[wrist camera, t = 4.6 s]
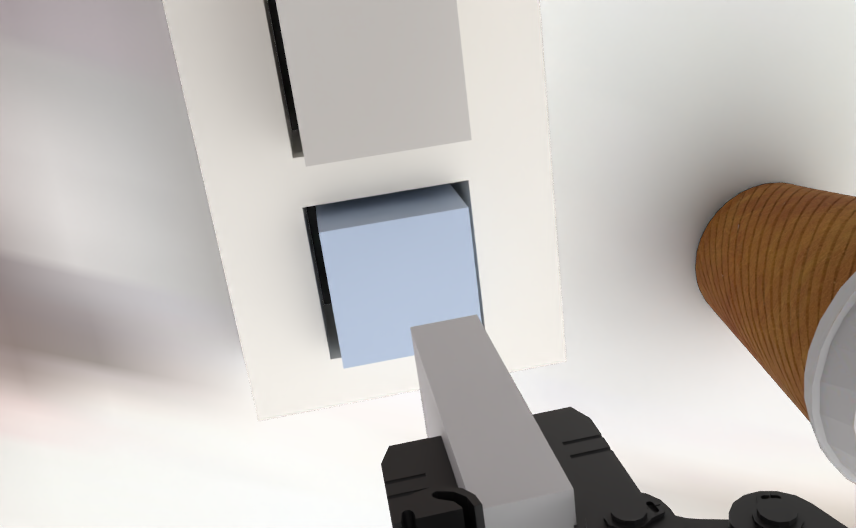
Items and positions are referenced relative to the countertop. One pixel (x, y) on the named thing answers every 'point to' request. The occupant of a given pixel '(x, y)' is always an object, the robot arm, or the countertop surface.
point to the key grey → (374, 76)
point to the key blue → (396, 268)
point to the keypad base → (362, 177)
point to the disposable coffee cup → (792, 299)
